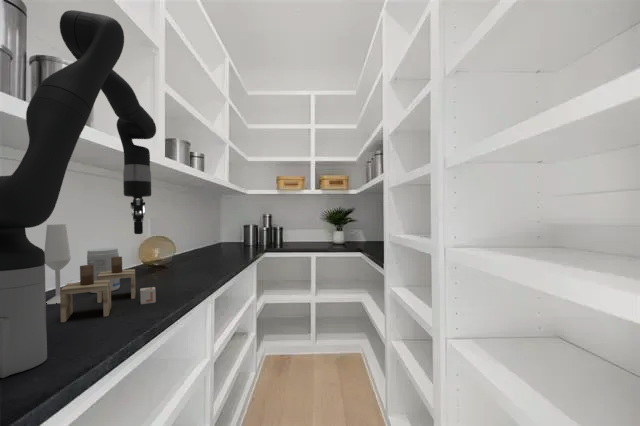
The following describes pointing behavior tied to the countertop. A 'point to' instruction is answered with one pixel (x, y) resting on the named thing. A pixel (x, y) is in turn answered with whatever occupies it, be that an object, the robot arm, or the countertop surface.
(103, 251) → the supplement tub
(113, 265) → the oak cover
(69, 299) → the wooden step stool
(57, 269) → the champagne flute
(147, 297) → the letter cube
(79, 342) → the countertop surface
